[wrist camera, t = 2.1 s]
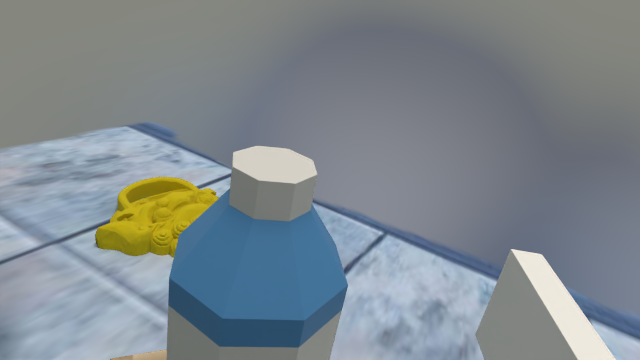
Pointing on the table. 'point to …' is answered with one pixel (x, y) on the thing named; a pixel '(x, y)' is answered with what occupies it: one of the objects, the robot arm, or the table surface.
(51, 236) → the table surface
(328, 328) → the water bottle
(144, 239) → the door knocker
